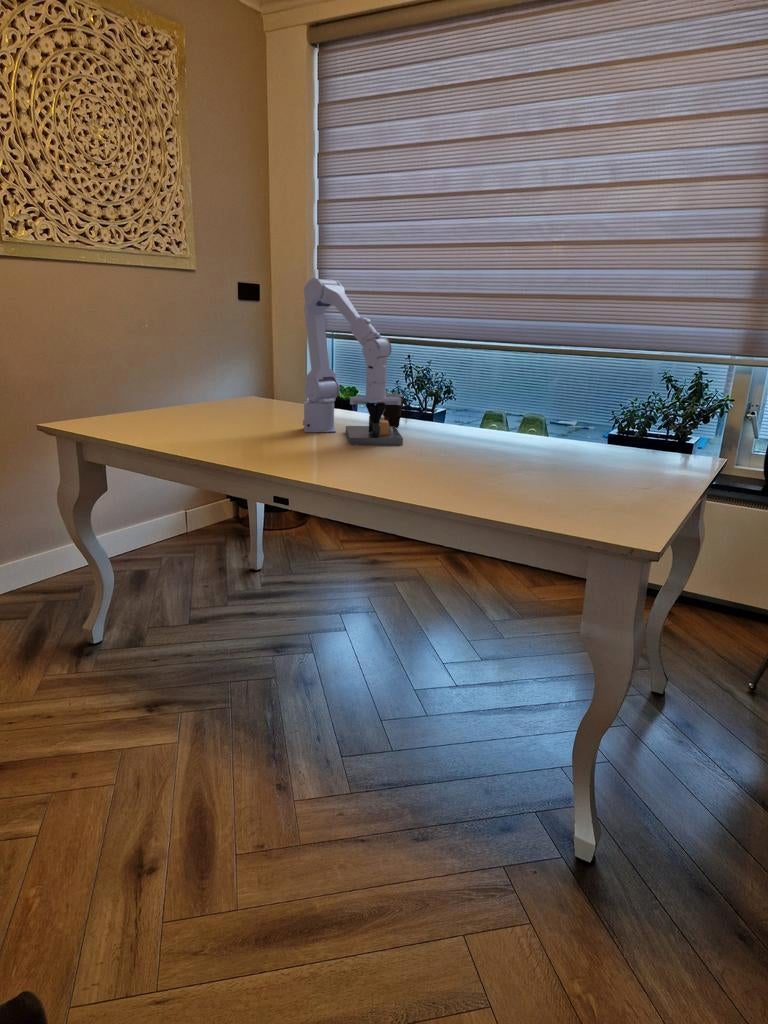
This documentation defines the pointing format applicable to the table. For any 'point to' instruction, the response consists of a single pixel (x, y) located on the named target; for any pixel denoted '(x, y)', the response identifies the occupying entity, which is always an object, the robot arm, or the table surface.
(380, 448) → the table surface
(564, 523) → the table surface
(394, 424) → the coffee mug
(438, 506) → the table surface
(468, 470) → the table surface
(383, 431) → the toggle orange
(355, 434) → the panel
